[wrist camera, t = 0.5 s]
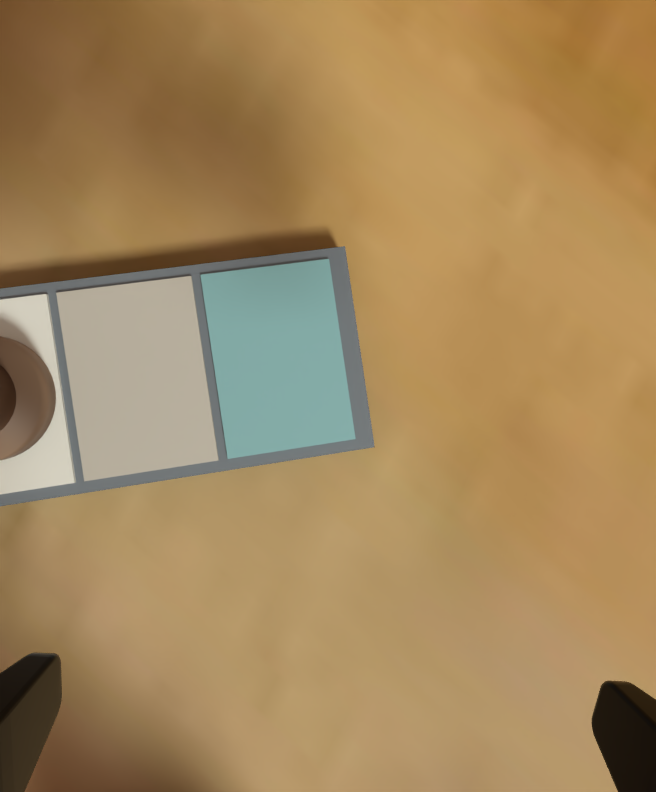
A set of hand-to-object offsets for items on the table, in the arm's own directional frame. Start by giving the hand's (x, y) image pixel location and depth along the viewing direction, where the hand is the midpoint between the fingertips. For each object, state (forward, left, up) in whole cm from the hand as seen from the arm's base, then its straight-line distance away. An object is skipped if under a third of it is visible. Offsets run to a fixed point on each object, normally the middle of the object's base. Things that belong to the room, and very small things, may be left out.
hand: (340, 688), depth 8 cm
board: (+3, +9, -14) cm, 17 cm away
